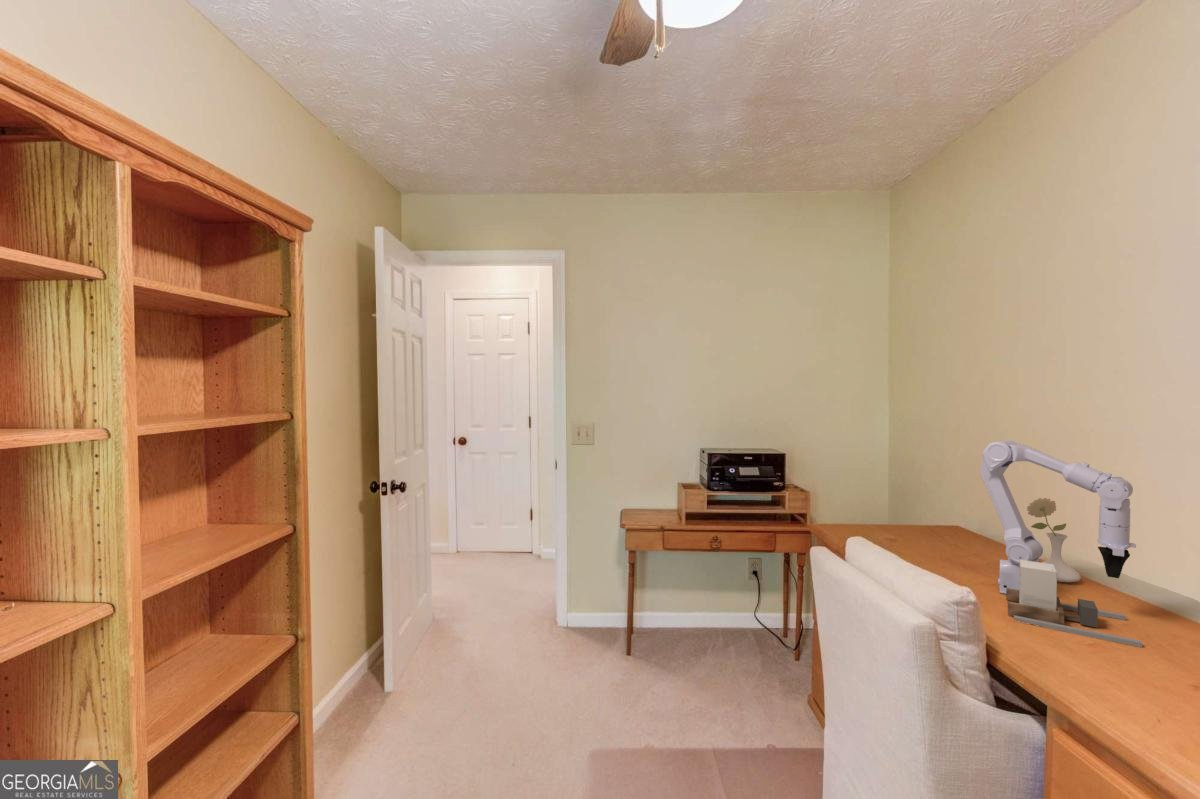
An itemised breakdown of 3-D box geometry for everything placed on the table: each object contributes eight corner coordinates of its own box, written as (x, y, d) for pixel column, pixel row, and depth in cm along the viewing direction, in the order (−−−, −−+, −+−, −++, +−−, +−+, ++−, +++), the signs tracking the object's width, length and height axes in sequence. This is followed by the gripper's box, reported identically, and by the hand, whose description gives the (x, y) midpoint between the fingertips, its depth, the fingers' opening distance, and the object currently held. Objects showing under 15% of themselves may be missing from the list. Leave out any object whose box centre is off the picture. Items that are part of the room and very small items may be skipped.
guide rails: (1013, 621, 133) (1013, 617, 133) (1010, 597, 149) (1011, 593, 149) (1142, 647, 120) (1142, 643, 120) (1124, 618, 135) (1124, 614, 135)
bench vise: (1007, 614, 137) (1008, 597, 136) (1006, 598, 147) (1006, 582, 147) (1099, 632, 126) (1100, 614, 126) (1091, 614, 137) (1091, 597, 137)
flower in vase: (1076, 577, 165) (1077, 497, 164) (1084, 588, 155) (1086, 504, 155) (1023, 569, 172) (1024, 493, 171) (1028, 580, 162) (1029, 499, 162)
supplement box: (1054, 611, 140) (1054, 564, 139) (1056, 621, 134) (1057, 571, 133) (1018, 604, 144) (1019, 558, 144) (1019, 613, 138) (1020, 566, 138)
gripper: (1142, 533, 128) (1140, 588, 128) (1130, 521, 139) (1129, 572, 139) (1102, 528, 132) (1100, 582, 132) (1094, 517, 143) (1092, 566, 144)
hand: (1112, 576), depth 136 cm, fingers closed
